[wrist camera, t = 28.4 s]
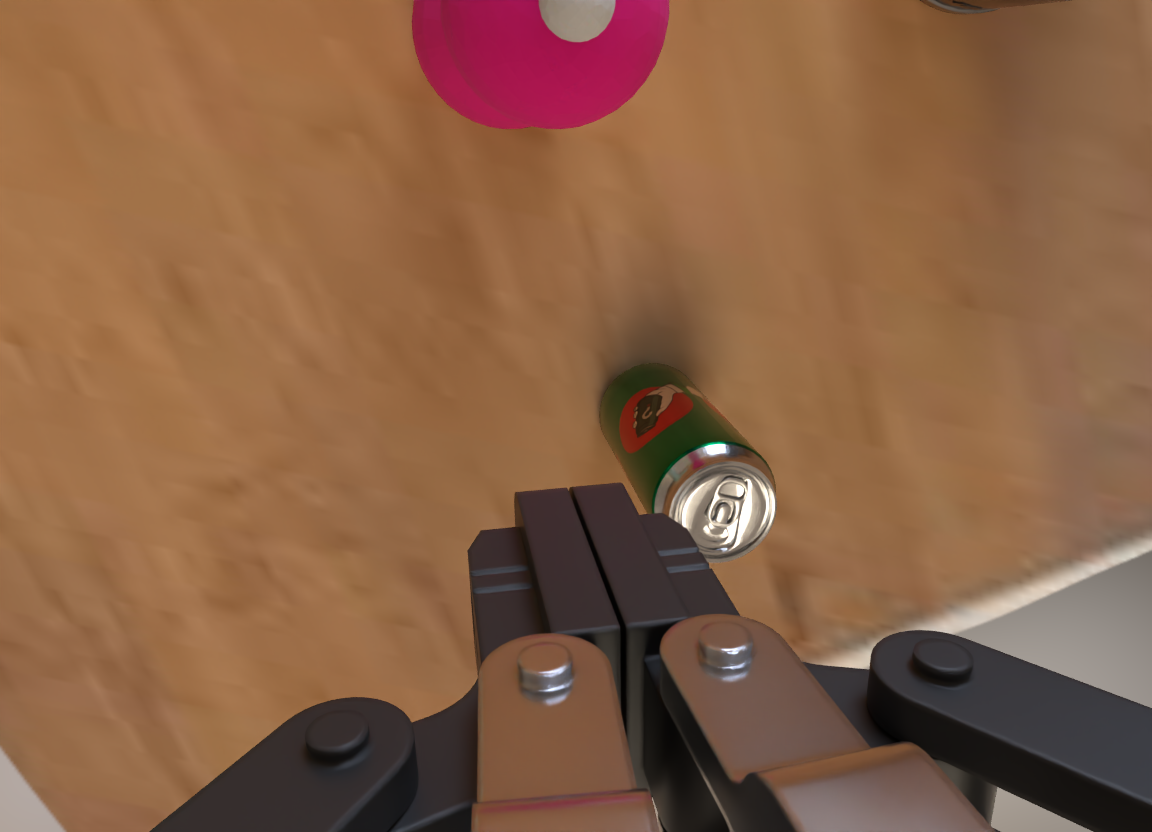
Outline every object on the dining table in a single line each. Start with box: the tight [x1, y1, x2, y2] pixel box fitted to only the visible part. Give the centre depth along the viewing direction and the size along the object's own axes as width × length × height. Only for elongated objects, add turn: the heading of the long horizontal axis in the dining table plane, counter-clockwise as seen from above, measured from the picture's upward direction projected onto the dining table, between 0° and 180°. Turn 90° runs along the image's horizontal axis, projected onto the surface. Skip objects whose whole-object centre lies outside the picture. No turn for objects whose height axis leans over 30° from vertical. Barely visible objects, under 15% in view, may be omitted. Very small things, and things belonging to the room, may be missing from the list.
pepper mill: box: [412, 0, 669, 129], centre depth 29 cm, size 7×7×20 cm
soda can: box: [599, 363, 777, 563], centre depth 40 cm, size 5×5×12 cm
